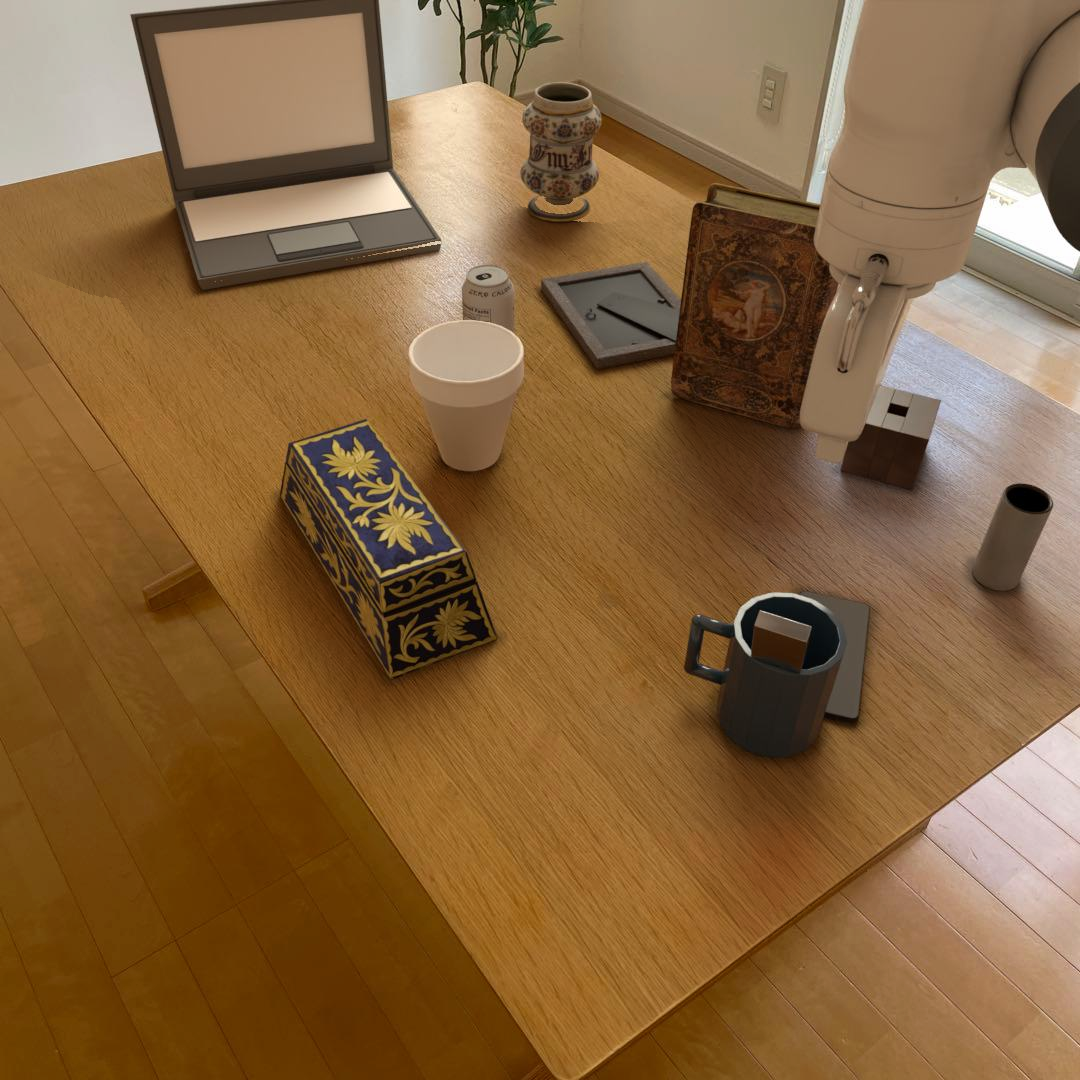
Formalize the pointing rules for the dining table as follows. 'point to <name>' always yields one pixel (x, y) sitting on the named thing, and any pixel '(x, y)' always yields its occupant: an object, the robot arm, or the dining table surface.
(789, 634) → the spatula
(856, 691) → the smartphone
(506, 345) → the cup
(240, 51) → the laptop
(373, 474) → the decorative box
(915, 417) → the utensil block
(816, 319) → the book
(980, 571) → the grey hollow cylinder
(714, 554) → the dining table surface
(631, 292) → the picture frame
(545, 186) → the apothecary jar
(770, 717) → the grey coffee mug
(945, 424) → the dining table surface
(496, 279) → the energy drink can
